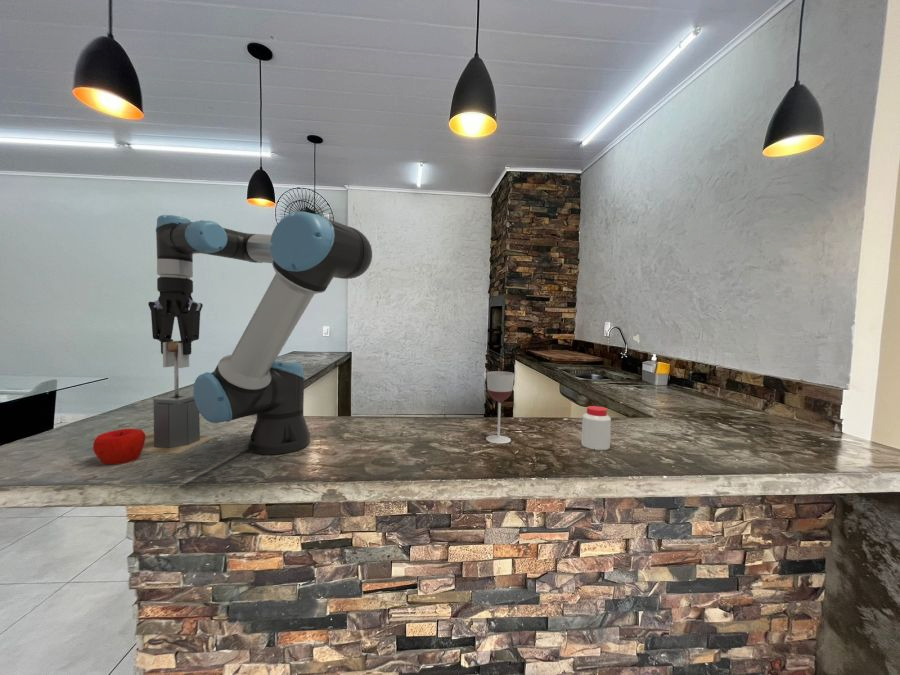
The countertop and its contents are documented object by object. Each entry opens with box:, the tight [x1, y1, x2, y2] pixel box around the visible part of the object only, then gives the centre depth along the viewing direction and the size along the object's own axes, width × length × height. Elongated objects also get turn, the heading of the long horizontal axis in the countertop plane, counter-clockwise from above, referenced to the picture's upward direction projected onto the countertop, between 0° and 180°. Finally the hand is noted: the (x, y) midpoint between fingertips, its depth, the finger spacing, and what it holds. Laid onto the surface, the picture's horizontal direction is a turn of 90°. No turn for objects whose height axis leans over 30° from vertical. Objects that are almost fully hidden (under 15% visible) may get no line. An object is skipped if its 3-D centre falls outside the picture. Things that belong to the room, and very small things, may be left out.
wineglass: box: [485, 370, 515, 444], centre depth 111 cm, size 8×9×20 cm
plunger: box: [168, 340, 180, 398], centre depth 98 cm, size 7×7×20 cm
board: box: [142, 432, 216, 454], centre depth 98 cm, size 22×13×1 cm, turn 85°
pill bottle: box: [580, 405, 612, 451], centre depth 108 cm, size 8×8×11 cm
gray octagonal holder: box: [152, 393, 201, 448], centre depth 99 cm, size 10×12×12 cm
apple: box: [92, 428, 146, 465], centre depth 86 cm, size 9×9×8 cm
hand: (176, 366), depth 98 cm, fingers closed on plunger, 4 cm apart
